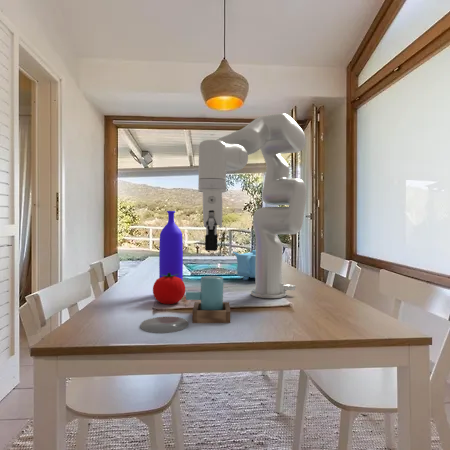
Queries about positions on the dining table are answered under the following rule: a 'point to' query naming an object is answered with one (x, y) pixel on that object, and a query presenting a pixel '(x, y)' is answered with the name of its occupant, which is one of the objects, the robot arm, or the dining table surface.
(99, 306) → the dining table surface
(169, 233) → the bottle
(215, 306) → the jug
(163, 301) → the tomato
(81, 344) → the dining table surface
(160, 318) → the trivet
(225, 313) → the cradle
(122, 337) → the dining table surface
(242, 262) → the light blue cushion
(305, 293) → the dining table surface
